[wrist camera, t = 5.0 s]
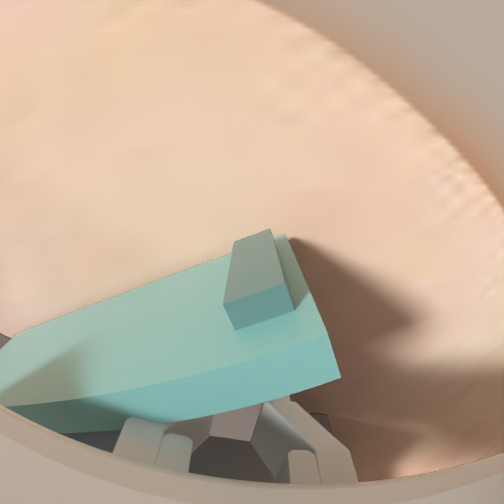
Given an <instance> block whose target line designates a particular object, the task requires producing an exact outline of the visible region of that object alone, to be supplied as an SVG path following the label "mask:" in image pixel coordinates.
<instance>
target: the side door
mask: <svg viewBox="0 0 504 504" xmlns="http://www.w3.org/2000/svg"><path fill="white" fill-rule="evenodd" d="M339 378H341V376H340V372H339V369H338V366H337V362H336V359H335V356H334V352H333V349H332V346H331V342H330V339H329V336H328V333H327V331H326V328H325V326H324V323H323V321H322V318H321V316H320V314H319V311H318V309H317V306H316V304H315V302H314V299H313V297H312V295H311V292H310V290H309V288H308V285H307V283H306V280H305V278H304V276H303V274H302V271H301V269H300V267H299V264H298V262H297V260H296V257H295V255H294V253H293V251H292V248H291V246H290V244H289V241H288V239H287V237H286V235H285V234H282V235H279V236H277V237H273V235H272V232H271V229H268V230H265V231H262V232H259V233H257V234H254V235H251V236H249V237H246V238H243V239H241V240H238V241H235V242H234V245H233V251H232V253H230V254H228V255H225V256H222V257H219V258H217V259H214V260H211V261H209V262H206V263H203V264H200V265H198V266H195V267H192V268H190V269H187V270H184V271H182V272H179V273H176V274H173V275H171V276H168V277H165V278H163V279H160V280H157V281H155V282H152V283H149V284H147V285H144V286H141V287H139V288H136V289H133V290H131V291H128V292H125V293H122V294H120V295H117V296H114V297H112V298H109V299H106V300H104V301H101V302H98V303H96V304H93V305H91V306H88V307H85V308H83V309H80V310H77V311H75V312H72V313H69V314H67V315H64V316H61V317H59V318H56V319H53V320H51V321H48V322H46V323H43V324H40V325H38V326H35V327H32V328H30V329H27V330H24V331H22V332H19V333H17V334H16V335H15V336H14V337H13V338H12V339H11V340H10V341H9V342H8V343H6V344H5V345H4V346H3V347H2V348H1V349H0V405H2V406H4V407H6V408H7V409H9V410H11V411H13V412H15V413H17V414H19V415H21V416H23V417H25V418H27V419H29V420H31V421H33V422H35V423H37V424H39V425H41V426H43V427H45V428H48V429H50V430H52V431H55V432H57V433H82V432H97V431H109V430H120V429H123V426H124V424H125V422H126V420H127V419H129V418H131V417H136V418H140V419H143V420H147V421H152V422H156V423H160V424H165V423H172V422H178V421H183V420H189V419H194V418H199V417H204V416H209V415H214V414H218V413H223V412H227V411H232V410H236V409H240V408H244V407H248V406H252V405H256V404H259V403H263V402H267V401H270V400H274V399H277V398H281V397H284V396H288V395H291V394H294V393H297V392H301V391H304V390H307V389H310V388H313V387H316V386H319V385H322V384H325V383H328V382H331V381H333V380H336V379H339Z"/></svg>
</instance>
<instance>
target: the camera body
mask: <svg viewBox="0 0 504 504" xmlns="http://www.w3.org/2000/svg"><path fill="white" fill-rule="evenodd" d="M10 340H11V339H10V338H8V337H6V336H4V335H2V334H0V349H1V348H2V347H3V346H4V345H5V344H6V343H8V342H9V341H10ZM309 415H310V416H311V417H313V418H314V419H315V420H316V421H317V422H318V423H319V424H320V425H321V426H322V427H324V428H325V429H326V430H327V431H328V432H329V433H330V434H331V435H332V433H331V429H330V426H329V422H328V418H327V415H322V414H309ZM121 431H122V429H120V430H109V431H97V432H82V433H59V434H62V435H64V436H66V437H69V438H71V439H74V440H76V441H79V442H82V443H84V444H87V445H90V446H93V447H95V448H98V449H101V450H104V451H107V452H110V453H113V450H114V448H115V446H116V443H117V441H118V438H119V436H120V434H121ZM250 442H251V441H244V440H238V439H232V438H224V437H217V436H210V435H209V437H208V438H207V439H206V440H205V441H204V442H203V443H202V444H201V445H200V446H199V447H198V448H197V449H196V450H195V451H194V452H193V453H192V454H191V460H190V467H189V473H194V474H200V475H206V476H212V477H219V478H226V479H234V480H244V481H254V482H267V483H273V481H274V479H275V477H274V476H273V475H272V473H271V472H270V470H269V469H268V468H267V466H266V465H265V463H264V462H263V460H262V459H261V458H260V456H259V455H258V453H257V452H256V450H255V449H254V447H253V446H252V444H251V443H250Z"/></svg>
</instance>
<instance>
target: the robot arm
mask: <svg viewBox="0 0 504 504" xmlns="http://www.w3.org/2000/svg"><path fill="white" fill-rule="evenodd" d="M209 435H210V436H217V437H224V438H232V439H238V440H244V441H251V442H250V443H251V444H252V446H253V447H254V449H255V450H256V452H257V453H258V455H259V456H260V458H261V459H262V460H263V462H264V463H265V465H266V466H267V468H268V469H269V470H270V472H271V473H272V475H273V476H274V477H275V479H274V481H273V483H267V482H254V481H244V480H234V479H226V478H219V477H212V476H206V475H200V474H194V473H189V467H190V460H191V454H192V453H193V452H194V451H195V450H196V449H197V448H198V447H199V446H200V445H201V444H202V443H203V442H204V441H205V440H206V439H207V438H208V437H209ZM0 504H504V452H503V453H500V454H497V455H494V456H491V457H487V458H484V459H481V460H478V461H474V462H471V463H467V464H463V465H459V466H456V467H451V468H447V469H443V470H438V471H434V472H429V473H423V474H418V475H412V476H406V477H400V478H392V479H384V480H376V481H365V482H358V478H357V475H356V471H355V468H354V464H353V461H352V458H351V454H350V451H349V449H348V448H346V447H345V446H344V445H343V444H342V443H341V442H339V441H338V440H337V439H336V438H335V437H334V436H333V435H331V434H330V433H329V432H328V431H327V430H326V429H325V428H324V427H322V426H321V425H320V424H319V423H318V422H317V421H316V420H315V419H314V418H313V417H311V416H310V415H309V414H308V413H307V412H306V411H305V410H304V409H303V408H302V407H301V406H300V405H298V404H297V403H296V402H294V401H290V395H288V396H284V397H281V398H277V399H274V400H270V401H267V402H263V403H259V404H256V405H252V406H248V407H244V408H240V409H236V410H232V411H227V412H223V413H218V414H214V415H209V416H204V417H199V418H194V419H189V420H183V421H178V422H172V423H165V424H160V423H156V422H152V421H147V420H143V419H140V418H136V417H131V418H129V419H127V420H126V422H125V424H124V426H123V429H122V431H121V434H120V436H119V438H118V441H117V443H116V446H115V448H114V450H113V453H110V452H107V451H104V450H101V449H98V448H95V447H93V446H90V445H87V444H84V443H82V442H79V441H76V440H74V439H71V438H69V437H66V436H64V435H62V434H59V433H57V432H55V431H52V430H50V429H48V428H45V427H43V426H41V425H39V424H37V423H35V422H33V421H31V420H29V419H27V418H25V417H23V416H21V415H19V414H17V413H15V412H13V411H11V410H9V409H7V408H6V407H4V406H2V405H0Z"/></svg>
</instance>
